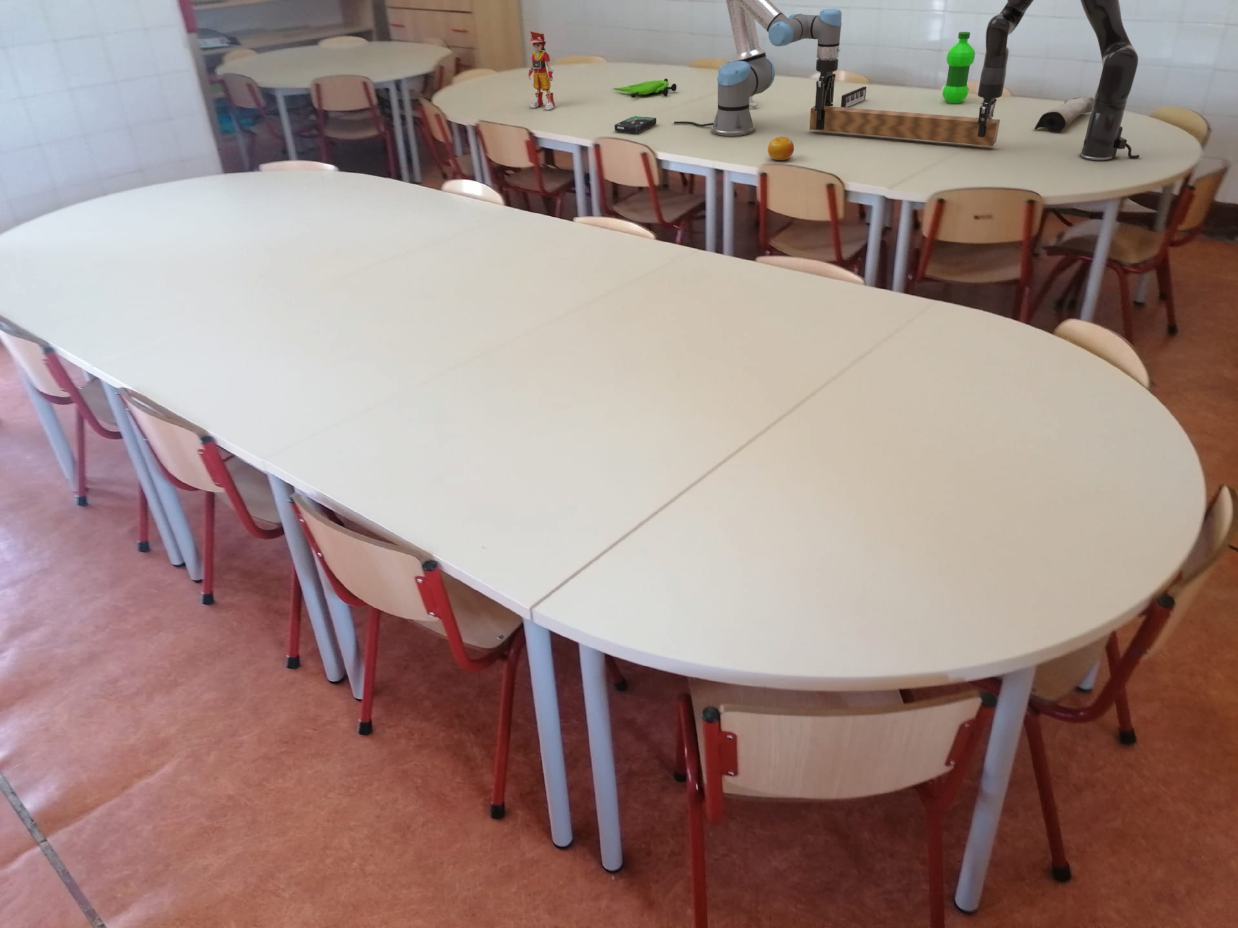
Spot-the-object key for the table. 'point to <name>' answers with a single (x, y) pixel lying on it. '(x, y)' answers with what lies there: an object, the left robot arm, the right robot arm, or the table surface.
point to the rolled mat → (1065, 114)
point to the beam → (906, 125)
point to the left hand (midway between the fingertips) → (822, 127)
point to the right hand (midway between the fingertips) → (982, 134)
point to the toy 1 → (541, 71)
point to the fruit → (780, 148)
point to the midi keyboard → (853, 97)
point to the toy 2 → (648, 88)
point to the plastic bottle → (958, 69)
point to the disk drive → (635, 124)
